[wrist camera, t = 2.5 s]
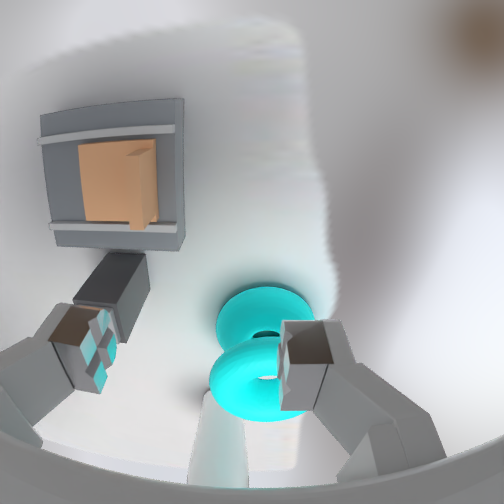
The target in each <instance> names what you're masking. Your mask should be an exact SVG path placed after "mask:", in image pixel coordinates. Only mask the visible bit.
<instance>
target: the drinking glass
mask: <svg viewBox="0 0 504 504" xmlns="http://www.w3.org/2000/svg"><path fill="white" fill-rule="evenodd" d="M187 484H190V485H200V486H212V487H228V488H249V467H248V456H247V446H246V436H245V425H244V419H242V418H239V417H237V416H234V415H232V414H230V413H229V412H227V411H226V410H224V409H223V408H222V407H221V406H220V405H219V404H218V403H217V402H216V400H215V399H214V397H213V395H212V393H211V390H209V391H208V392H207V393H206V394H205V395H204V397H203V402H202V409H201V414H200V418H199V423H198V427H197V431H196V436H195V440H194V444H193V449H192V453H191V457H190V462H189V468H188V475H187Z"/></svg>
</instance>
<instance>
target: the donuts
mask: <svg viewBox="0 0 504 504" xmlns="http://www.w3.org/2000/svg"><path fill="white" fill-rule="evenodd" d="M282 320H315V319H314V315H313V312H312V310H311V309H310V307H309V306H308V304H307V303H306V302H305V301H304V300H303V299H302V298H301V297H299V296H298V295H296V294H295V293H293V292H291V291H288V290H285V289H282V288H277V287H257V288H252V289H249V290H246V291H243V292H241V293H239V294H237V295H236V296H234V297H233V298H231V299H230V300H229V301H228V302H227V303H226V304H225V305H224V307H223V308H222V310H221V311H220V313H219V315H218V318H217V322H216V334H217V339H218V341H219V344H220V345H221V347H222V349H223V350H224V351H225V352H224V353H223V354H222V355H221V356H220V357H219V358H218V359H217V360H216V362H215V363H214V365H213V367H212V370H211V372H210V378H209V385H210V390H211V393H212V395H213V397H214V399H215V400H216V402H217V403H218V404H219V405H220V406H221V407H222V408H223V409H224V410H226V411H227V412H229V413H230V414H232V415H234V416H237V417H239V418H242V419H246V420H250V421H258V422H274V421H281V420H286V419H290V418H293V417H296V416H298V415H300V414H302V413H304V412H306V411H280V402H279V385H280V380H279V379H278V378H275V379H268V380H264V379H259V378H258V377H262V376H269V375H273V376H277V351H278V344H279V343H280V342H281V337H280V336H278V337H259V338H253V335H254V334H256V333H258V332H260V331H265V330H270V331H275V332H277V333H279V334H280V328H281V323H282Z"/></svg>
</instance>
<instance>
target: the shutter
mask: <svg viewBox="0 0 504 504" xmlns="http://www.w3.org/2000/svg"><path fill="white" fill-rule="evenodd" d="M78 152H79V165H80V176H81V185H82V194H83V202H84V209H85V216H86V221H129V224H130V230H144V229H145V228H146V227H147V225H148V224H149V223H150V222H157V220H158V219H159V208H158V190H157V166H156V139H134V140H118V141H105V142H94V143H84V144H80V145H78Z"/></svg>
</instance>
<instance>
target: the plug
mask: <svg viewBox="0 0 504 504" xmlns="http://www.w3.org/2000/svg"><path fill="white" fill-rule="evenodd" d="M149 291H150V284H149V276H148V269H147V261H146V254H132V253H111V252H108V254H107V255H106V256H105V257H104V259H103V260H102V261H101V262H100V264H99V265H98V266H97V267H96V269H95V270H94V271H93V273H92V274H91V275H90V276H89V278H88V279H87V280H86V282H85V283H84V284H83V286H82V287H81V288H80V290H79V291H78V292H77V294H76V295H75V297H74V298H73V303H74V305H82V306H88V307H95V308H102V309H105V310H107V311H108V314H109V317H110V320H111V321H110V323H109V325H108V327H109V328H110V329H111V330H112V332H113V333H114V335H115V338H116V344H119V343H127V341H128V338H129V336H130V334H131V331H132V329H133V327H134V324H135V322H136V320H137V318H138V315H139V313H140V311H141V309H142V306H143V304H144V302H145V300H146V298H147V295H148V293H149Z"/></svg>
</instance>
